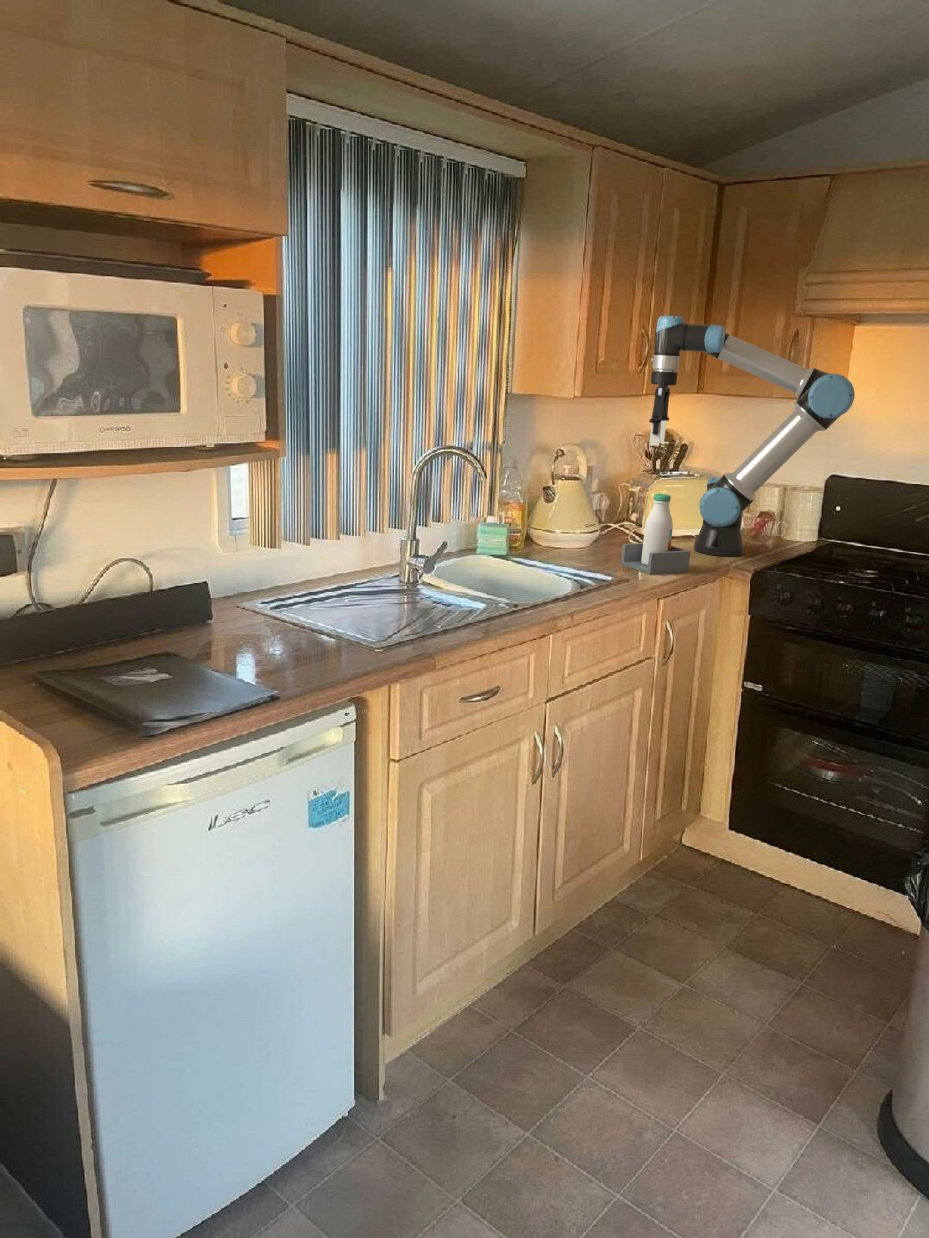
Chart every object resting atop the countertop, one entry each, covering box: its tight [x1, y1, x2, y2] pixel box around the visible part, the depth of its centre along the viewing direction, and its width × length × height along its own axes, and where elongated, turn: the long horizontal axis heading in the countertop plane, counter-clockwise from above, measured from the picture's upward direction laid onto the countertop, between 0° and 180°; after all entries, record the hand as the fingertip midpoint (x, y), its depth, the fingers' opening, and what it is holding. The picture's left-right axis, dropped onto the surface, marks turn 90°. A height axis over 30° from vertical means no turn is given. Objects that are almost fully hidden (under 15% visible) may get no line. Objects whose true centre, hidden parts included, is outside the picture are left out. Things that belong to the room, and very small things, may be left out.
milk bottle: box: [641, 493, 674, 566], centre depth 271 cm, size 8×8×20 cm
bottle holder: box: [620, 542, 691, 575], centre depth 273 cm, size 13×13×6 cm
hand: (656, 444), depth 289 cm, fingers open, 13 cm apart
